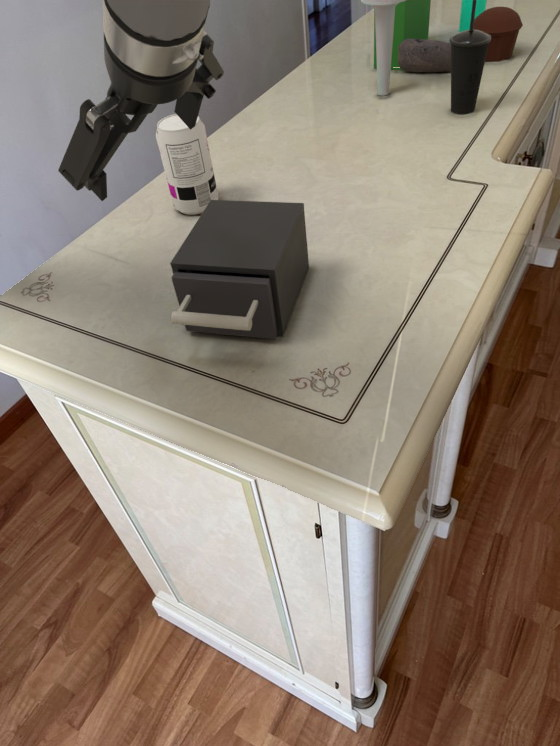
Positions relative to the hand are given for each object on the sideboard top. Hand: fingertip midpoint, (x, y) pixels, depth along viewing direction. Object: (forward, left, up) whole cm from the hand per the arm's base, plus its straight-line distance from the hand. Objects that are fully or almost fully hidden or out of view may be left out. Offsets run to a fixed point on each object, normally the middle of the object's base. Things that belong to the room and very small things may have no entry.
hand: (141, 153), depth 67 cm
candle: (-58, +108, -24) cm, 125 cm away
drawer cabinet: (+2, +10, -24) cm, 26 cm away
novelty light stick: (-45, +70, -24) cm, 86 cm away
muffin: (-45, +103, -24) cm, 115 cm away
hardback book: (-61, +88, -24) cm, 110 cm away
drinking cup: (-26, +76, -24) cm, 84 cm away
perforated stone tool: (-48, +86, -24) cm, 101 cm away
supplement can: (-28, +15, -24) cm, 40 cm away
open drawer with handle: (+5, +6, -23) cm, 24 cm away
